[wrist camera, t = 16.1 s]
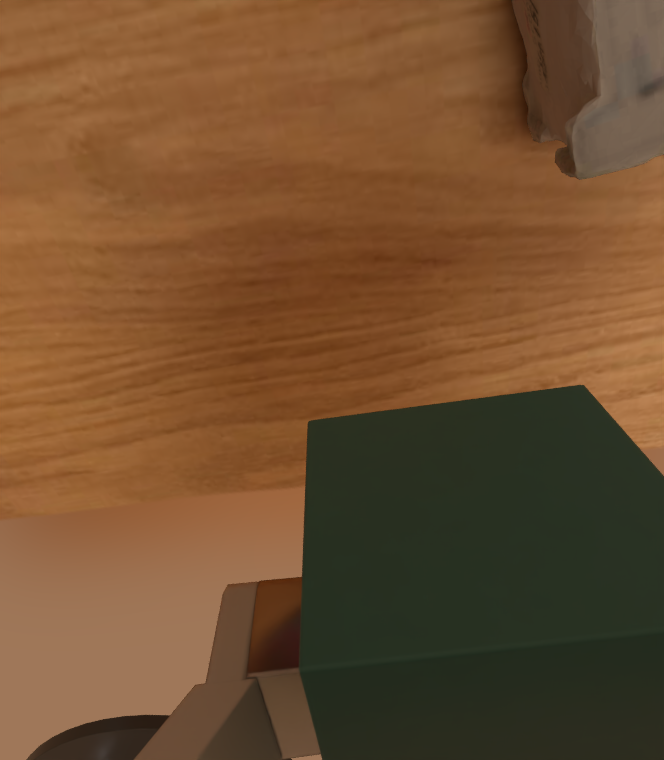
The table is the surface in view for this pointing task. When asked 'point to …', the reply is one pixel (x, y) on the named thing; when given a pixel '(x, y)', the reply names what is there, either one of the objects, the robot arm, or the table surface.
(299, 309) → the table surface
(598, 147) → the incense holder
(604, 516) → the block
